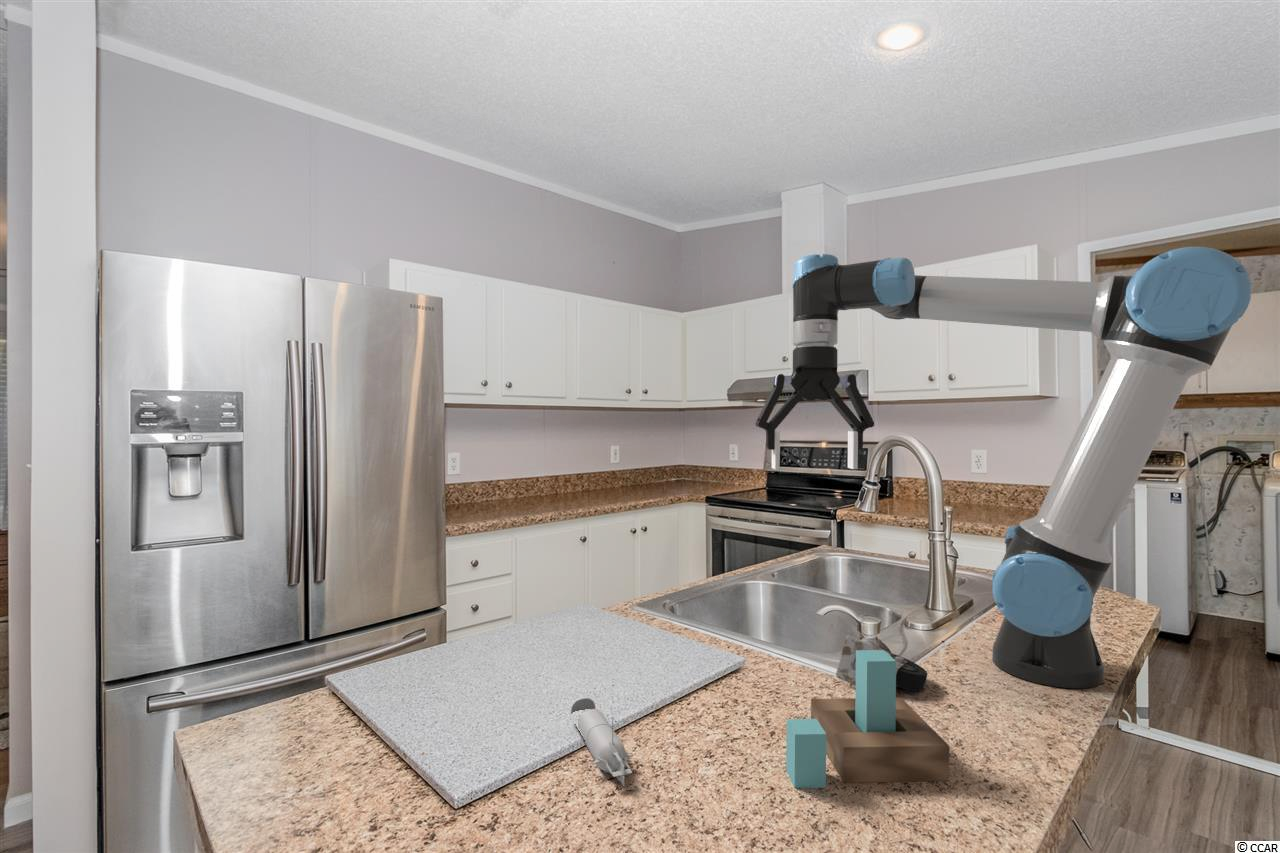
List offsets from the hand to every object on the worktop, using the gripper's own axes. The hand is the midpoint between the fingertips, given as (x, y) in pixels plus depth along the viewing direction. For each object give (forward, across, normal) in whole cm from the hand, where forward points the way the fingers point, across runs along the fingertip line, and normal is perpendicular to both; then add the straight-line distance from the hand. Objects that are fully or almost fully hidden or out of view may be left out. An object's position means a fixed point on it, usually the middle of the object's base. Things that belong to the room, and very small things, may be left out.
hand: (814, 468), depth 110 cm
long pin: (+32, -3, -34) cm, 47 cm away
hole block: (+32, -3, -34) cm, 47 cm away
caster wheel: (+32, +7, -14) cm, 36 cm away
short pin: (+32, -13, -39) cm, 52 cm away
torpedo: (+32, -37, -32) cm, 58 cm away
